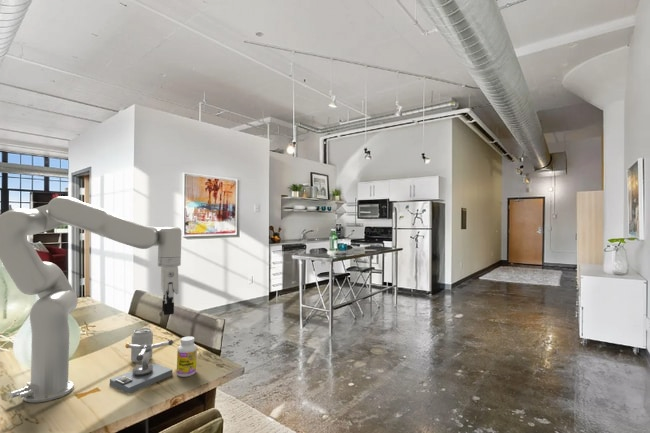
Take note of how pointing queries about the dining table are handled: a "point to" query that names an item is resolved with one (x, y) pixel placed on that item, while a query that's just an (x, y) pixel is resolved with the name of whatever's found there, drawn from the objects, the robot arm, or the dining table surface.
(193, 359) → the supplement bottle
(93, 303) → the dining table surface
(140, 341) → the can
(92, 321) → the dining table surface
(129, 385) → the stand
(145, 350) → the capstan
